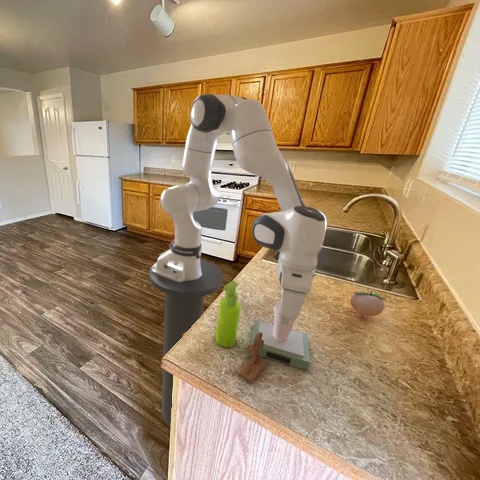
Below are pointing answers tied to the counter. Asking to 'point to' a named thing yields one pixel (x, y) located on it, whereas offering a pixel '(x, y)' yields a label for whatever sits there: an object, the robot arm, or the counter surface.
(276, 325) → the smoothie
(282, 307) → the robot arm
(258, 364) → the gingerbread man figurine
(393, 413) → the counter surface
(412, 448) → the counter surface
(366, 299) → the decorative fruit
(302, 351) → the scale
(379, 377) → the counter surface
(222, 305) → the soap dispenser
